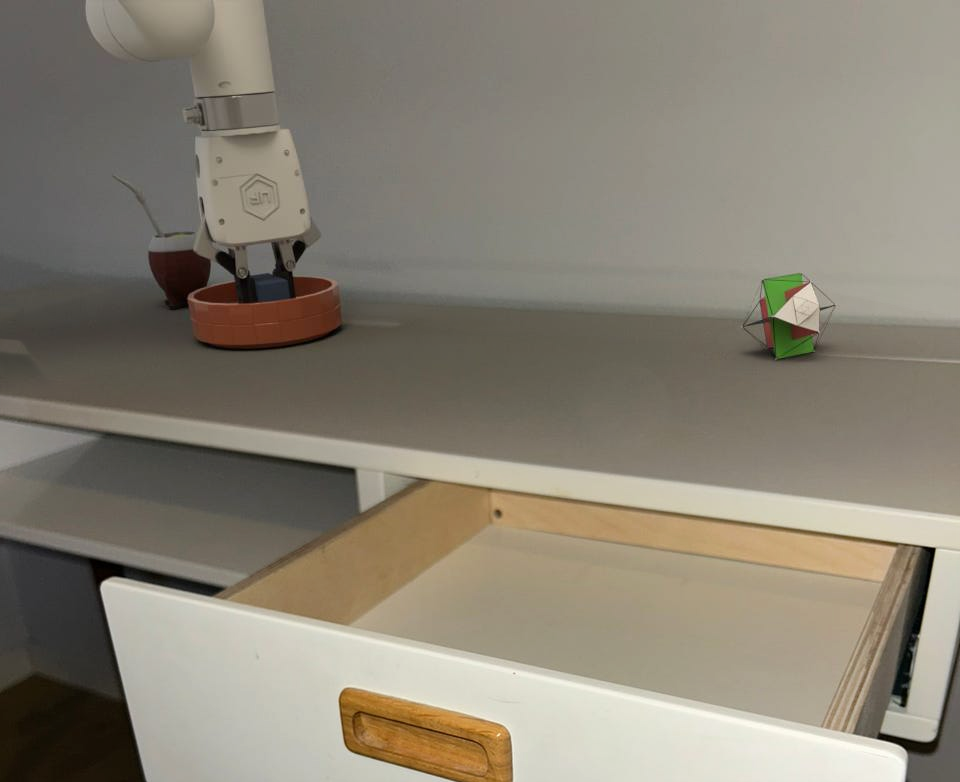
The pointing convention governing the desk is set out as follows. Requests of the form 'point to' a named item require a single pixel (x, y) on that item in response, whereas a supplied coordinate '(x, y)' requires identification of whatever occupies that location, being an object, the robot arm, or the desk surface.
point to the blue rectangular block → (270, 288)
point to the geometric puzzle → (789, 315)
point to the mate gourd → (174, 260)
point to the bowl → (265, 315)
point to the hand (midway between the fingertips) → (269, 311)
